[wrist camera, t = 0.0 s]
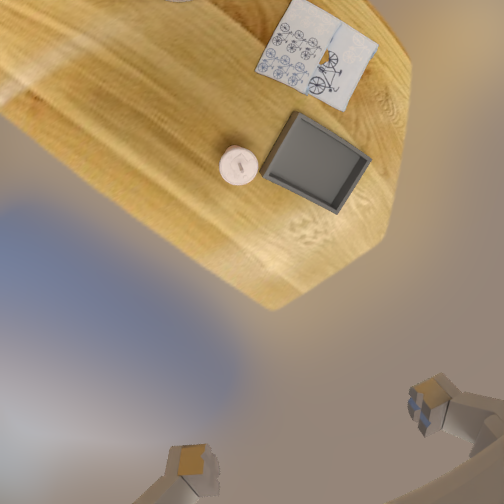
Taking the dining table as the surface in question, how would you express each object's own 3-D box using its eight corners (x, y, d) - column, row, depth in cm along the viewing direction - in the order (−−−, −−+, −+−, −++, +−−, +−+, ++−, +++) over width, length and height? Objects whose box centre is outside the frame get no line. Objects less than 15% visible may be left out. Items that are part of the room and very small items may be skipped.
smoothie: (254, 141, 54) (267, 158, 42) (247, 172, 57) (257, 198, 45) (221, 135, 52) (224, 150, 40) (214, 167, 55) (216, 191, 44)
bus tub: (293, 110, 51) (299, 112, 48) (363, 154, 57) (372, 159, 54) (259, 171, 57) (262, 177, 54) (330, 207, 63) (337, 214, 60)
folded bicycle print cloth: (293, -5, 39) (297, -8, 37) (378, 46, 45) (383, 46, 43) (251, 71, 47) (253, 70, 45) (341, 117, 53) (345, 119, 52)
